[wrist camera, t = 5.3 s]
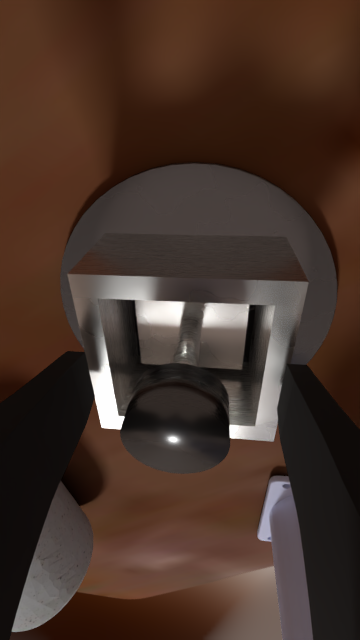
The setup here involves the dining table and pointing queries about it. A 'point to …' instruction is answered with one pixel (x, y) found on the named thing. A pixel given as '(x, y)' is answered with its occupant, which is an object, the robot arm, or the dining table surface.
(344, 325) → the dining table surface
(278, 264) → the press
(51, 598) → the ceramic mug
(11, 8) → the dining table surface
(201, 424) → the plunger
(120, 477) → the dining table surface
